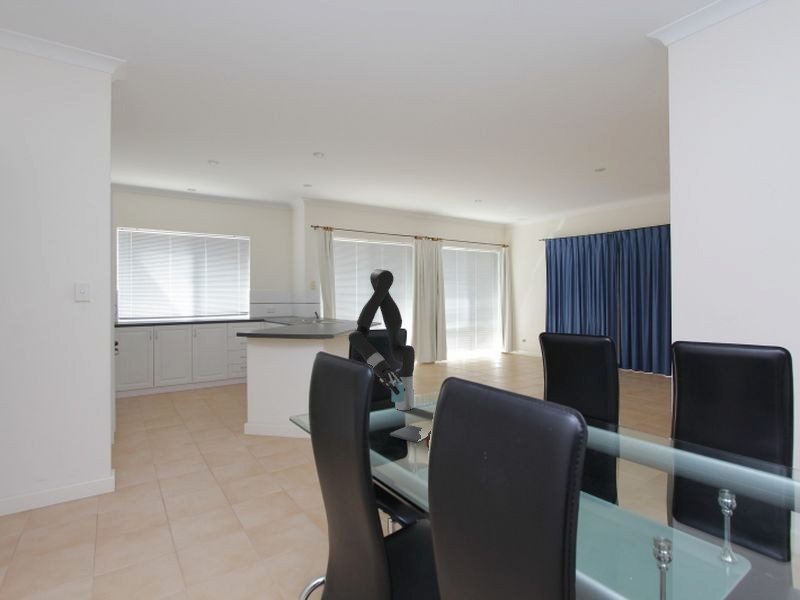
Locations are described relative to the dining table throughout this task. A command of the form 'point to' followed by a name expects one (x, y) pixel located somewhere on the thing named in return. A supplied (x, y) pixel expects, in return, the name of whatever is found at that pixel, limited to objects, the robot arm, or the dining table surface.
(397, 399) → the block
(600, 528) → the dining table surface
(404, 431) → the mat
